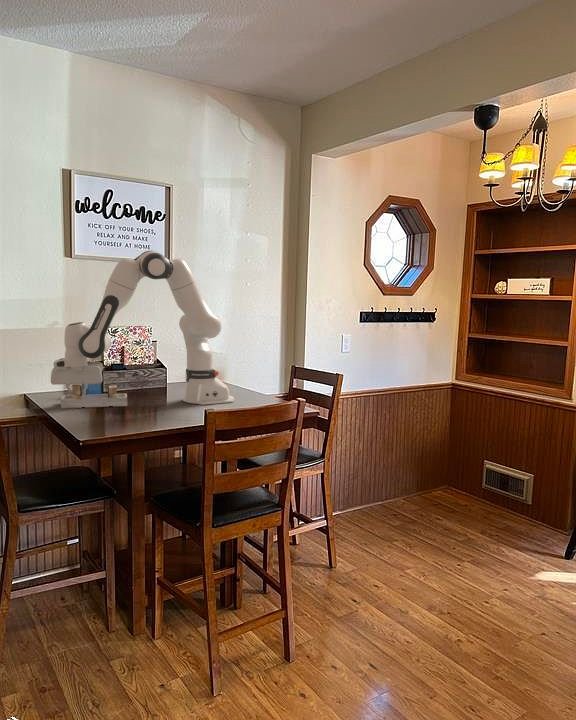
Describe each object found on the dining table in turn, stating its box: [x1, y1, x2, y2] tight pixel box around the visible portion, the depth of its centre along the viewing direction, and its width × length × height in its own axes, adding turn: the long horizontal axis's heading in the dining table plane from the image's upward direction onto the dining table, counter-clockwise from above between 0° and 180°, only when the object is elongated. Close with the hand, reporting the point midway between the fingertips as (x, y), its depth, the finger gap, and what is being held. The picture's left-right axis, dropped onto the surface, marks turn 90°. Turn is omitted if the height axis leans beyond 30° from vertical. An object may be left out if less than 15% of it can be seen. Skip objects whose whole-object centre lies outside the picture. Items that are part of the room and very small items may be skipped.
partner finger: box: [107, 384, 118, 398], centre depth 243 cm, size 4×5×6 cm
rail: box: [60, 393, 128, 409], centre depth 241 cm, size 26×10×4 cm, turn 107°
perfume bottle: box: [81, 382, 102, 395], centre depth 258 cm, size 6×6×12 cm
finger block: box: [71, 384, 82, 399], centre depth 239 cm, size 4×5×6 cm
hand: (77, 394), depth 239 cm, fingers closed on finger block, 3 cm apart
